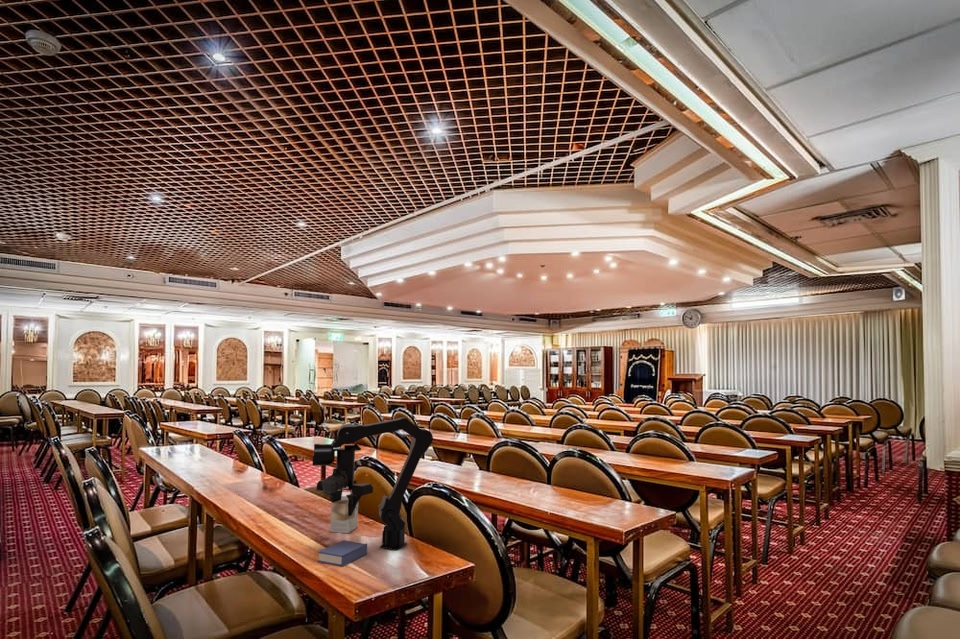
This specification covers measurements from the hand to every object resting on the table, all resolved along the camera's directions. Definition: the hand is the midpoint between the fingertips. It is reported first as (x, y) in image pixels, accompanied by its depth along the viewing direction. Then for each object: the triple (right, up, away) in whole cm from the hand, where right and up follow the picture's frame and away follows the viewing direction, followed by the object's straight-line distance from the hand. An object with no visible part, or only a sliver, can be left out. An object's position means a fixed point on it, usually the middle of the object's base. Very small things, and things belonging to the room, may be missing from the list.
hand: (343, 514), depth 164 cm
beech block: (0, -1, 0) cm, 1 cm away
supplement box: (-5, -14, +21) cm, 26 cm away
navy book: (+2, -10, -8) cm, 13 cm away
